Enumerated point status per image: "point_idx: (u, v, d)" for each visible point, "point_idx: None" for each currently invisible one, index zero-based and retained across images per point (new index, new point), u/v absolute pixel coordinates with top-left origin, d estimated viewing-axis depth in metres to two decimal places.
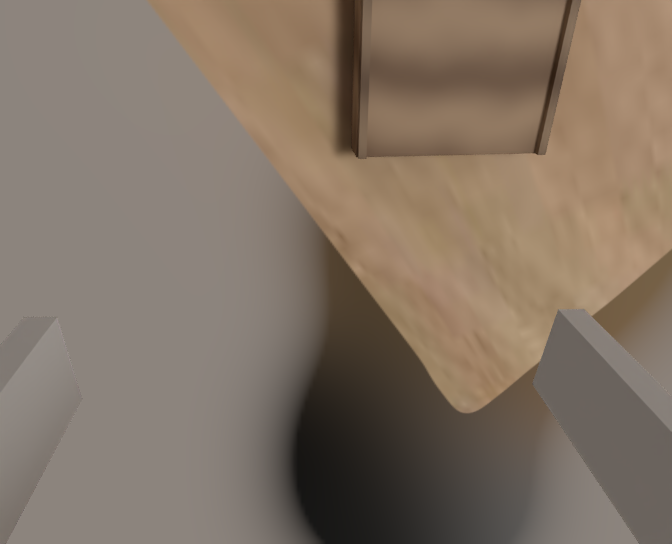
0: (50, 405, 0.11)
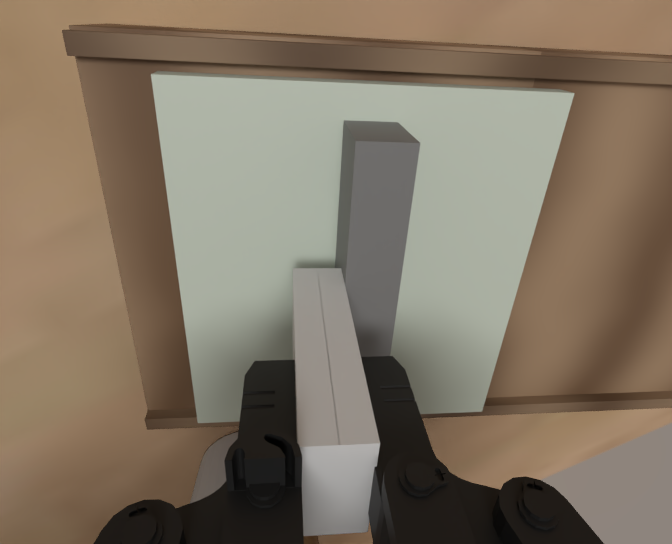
0: None
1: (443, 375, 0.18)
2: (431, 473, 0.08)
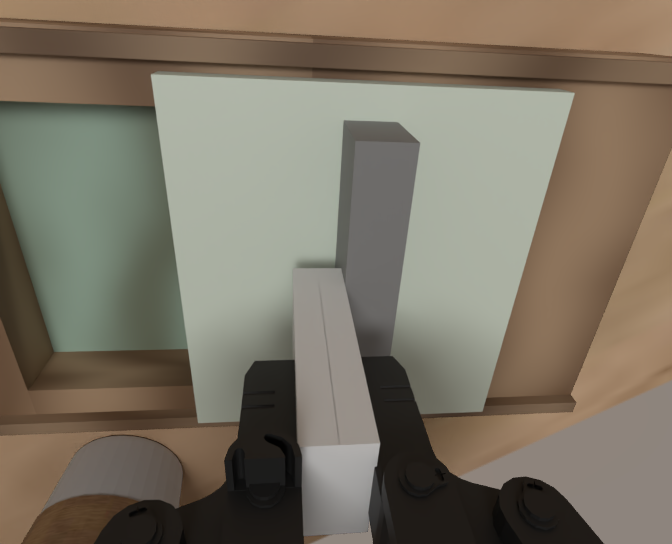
0: None
1: (443, 375, 0.18)
2: (431, 473, 0.08)
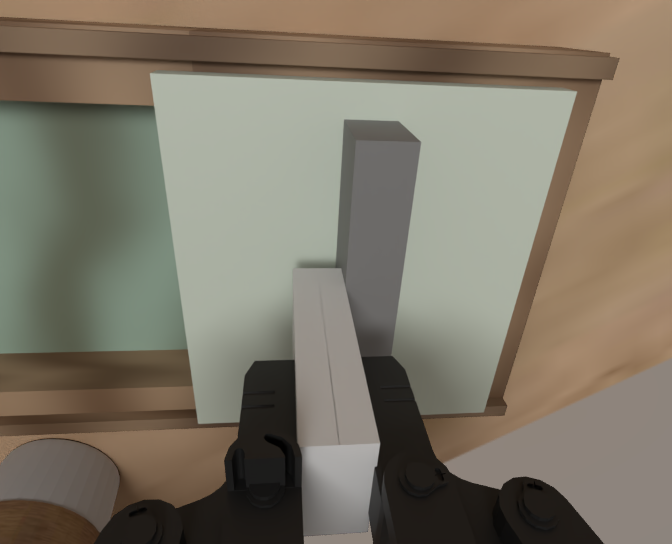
0: None
1: (444, 375, 0.18)
2: (431, 473, 0.08)
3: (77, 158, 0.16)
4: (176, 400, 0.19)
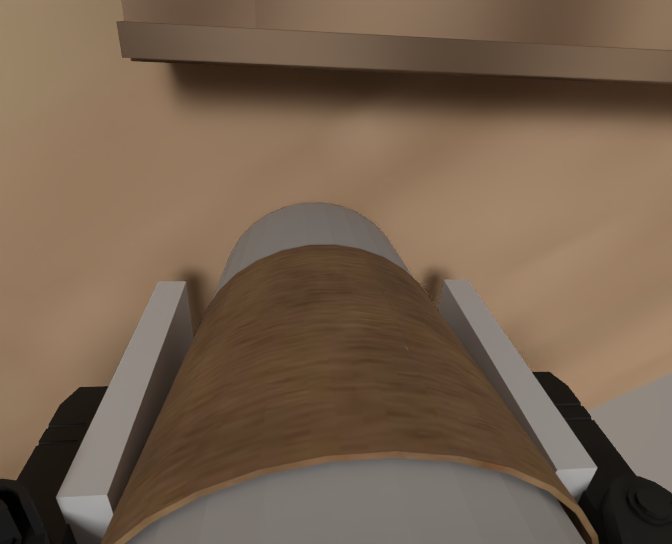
0: (184, 356, 0.12)
1: None
2: (666, 504, 0.07)
3: None
4: None
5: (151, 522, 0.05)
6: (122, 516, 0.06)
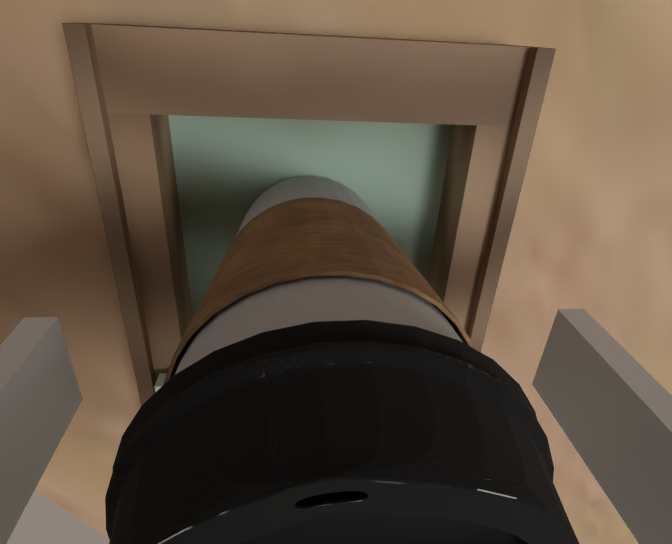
0: (50, 405, 0.11)
1: None
2: None
3: None
4: (163, 341, 0.19)
5: (213, 315, 0.10)
6: (194, 322, 0.10)
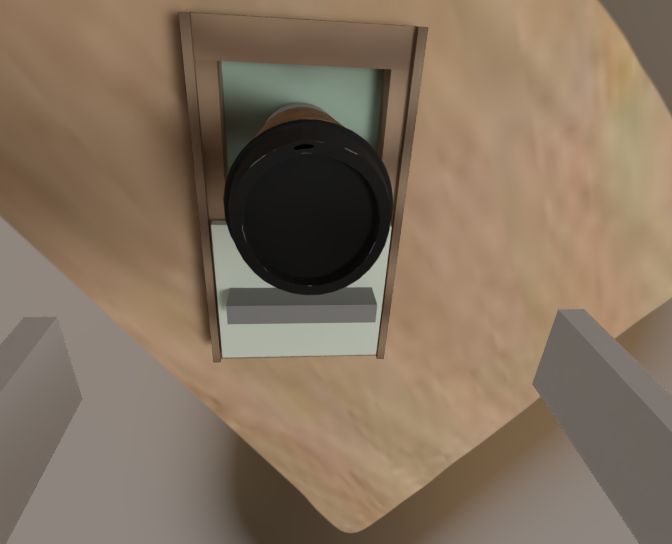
0: (50, 405, 0.11)
1: (247, 336, 0.37)
2: None
3: None
4: (215, 199, 0.32)
5: None
6: None
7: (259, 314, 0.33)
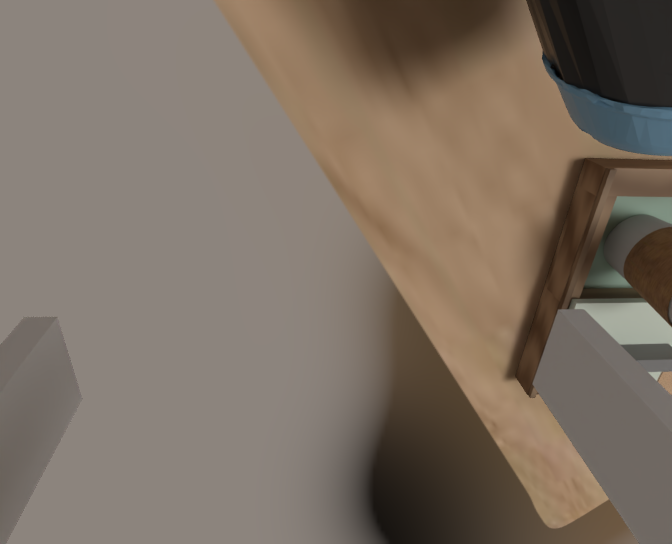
0: (50, 405, 0.11)
1: None
2: None
3: None
4: (577, 284, 0.44)
5: None
6: None
7: None
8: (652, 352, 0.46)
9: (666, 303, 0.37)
